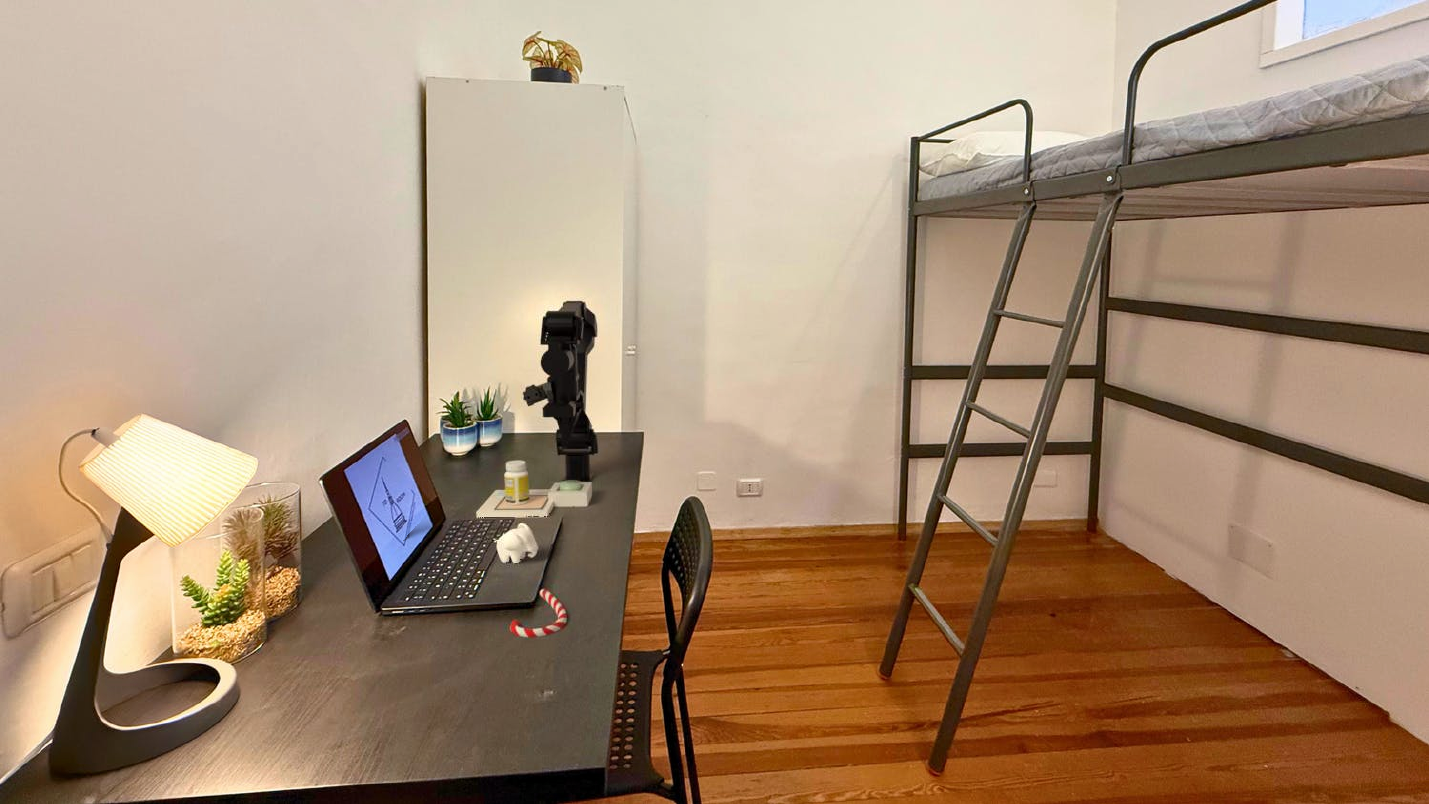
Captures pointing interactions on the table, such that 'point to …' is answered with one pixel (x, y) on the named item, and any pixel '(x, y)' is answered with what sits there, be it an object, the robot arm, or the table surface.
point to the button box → (570, 496)
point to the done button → (570, 485)
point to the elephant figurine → (516, 544)
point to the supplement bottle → (516, 483)
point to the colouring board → (500, 508)
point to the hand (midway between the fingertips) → (566, 442)
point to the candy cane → (545, 630)
